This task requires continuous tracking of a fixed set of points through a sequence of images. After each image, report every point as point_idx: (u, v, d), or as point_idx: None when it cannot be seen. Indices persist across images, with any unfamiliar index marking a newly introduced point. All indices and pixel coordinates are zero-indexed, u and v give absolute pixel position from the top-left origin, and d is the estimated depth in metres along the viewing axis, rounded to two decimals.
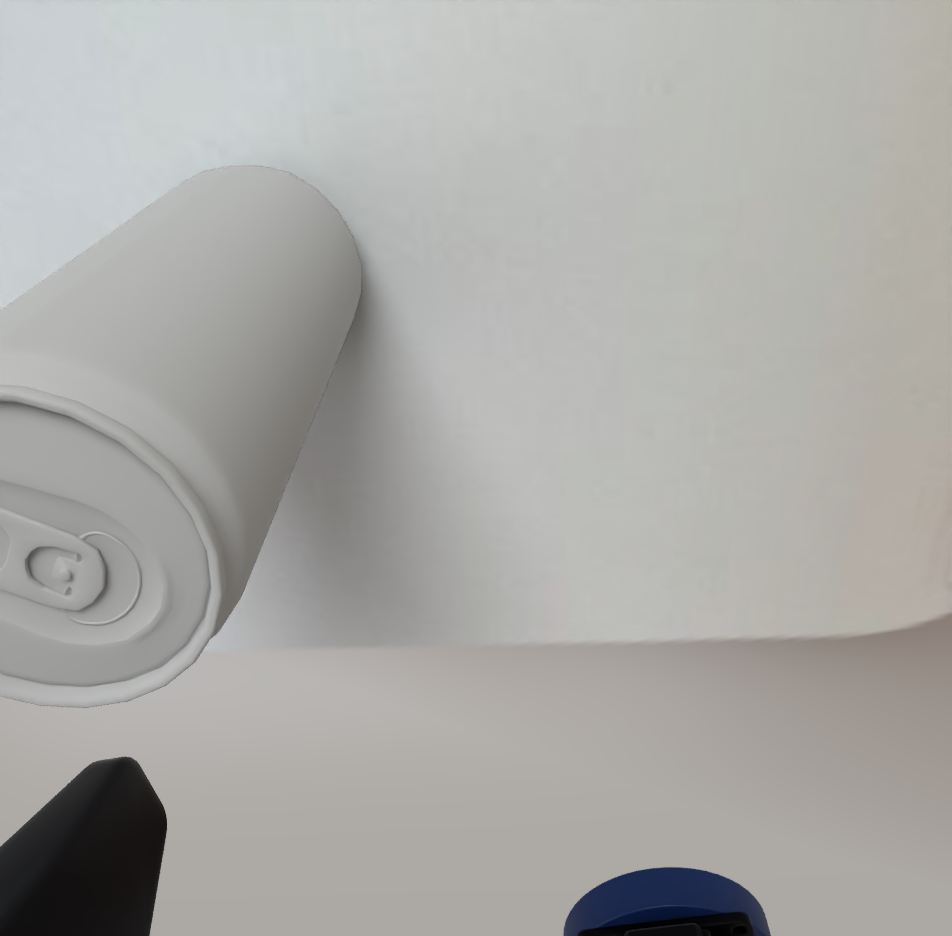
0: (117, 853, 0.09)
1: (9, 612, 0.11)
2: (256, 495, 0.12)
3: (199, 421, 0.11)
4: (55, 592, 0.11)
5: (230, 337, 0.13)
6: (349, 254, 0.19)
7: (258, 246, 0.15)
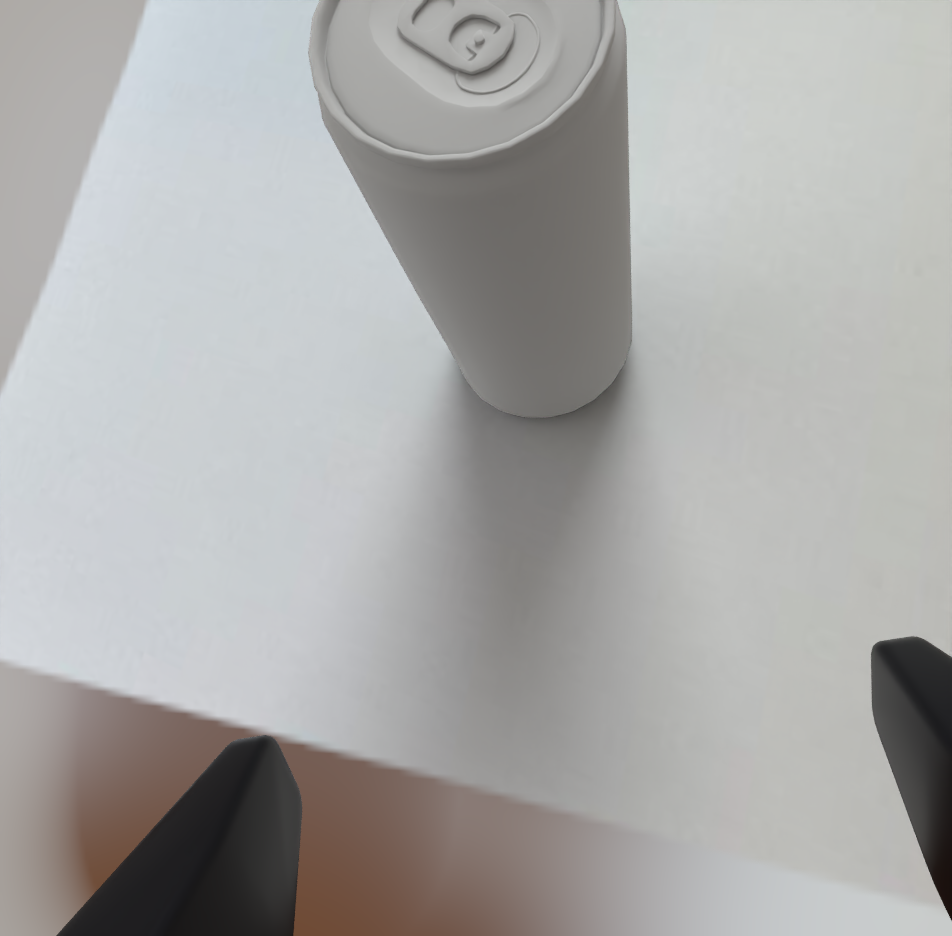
0: (266, 832, 0.08)
1: (412, 71, 0.13)
2: (625, 93, 0.14)
3: None
4: (461, 55, 0.13)
5: None
6: (631, 311, 0.23)
7: None
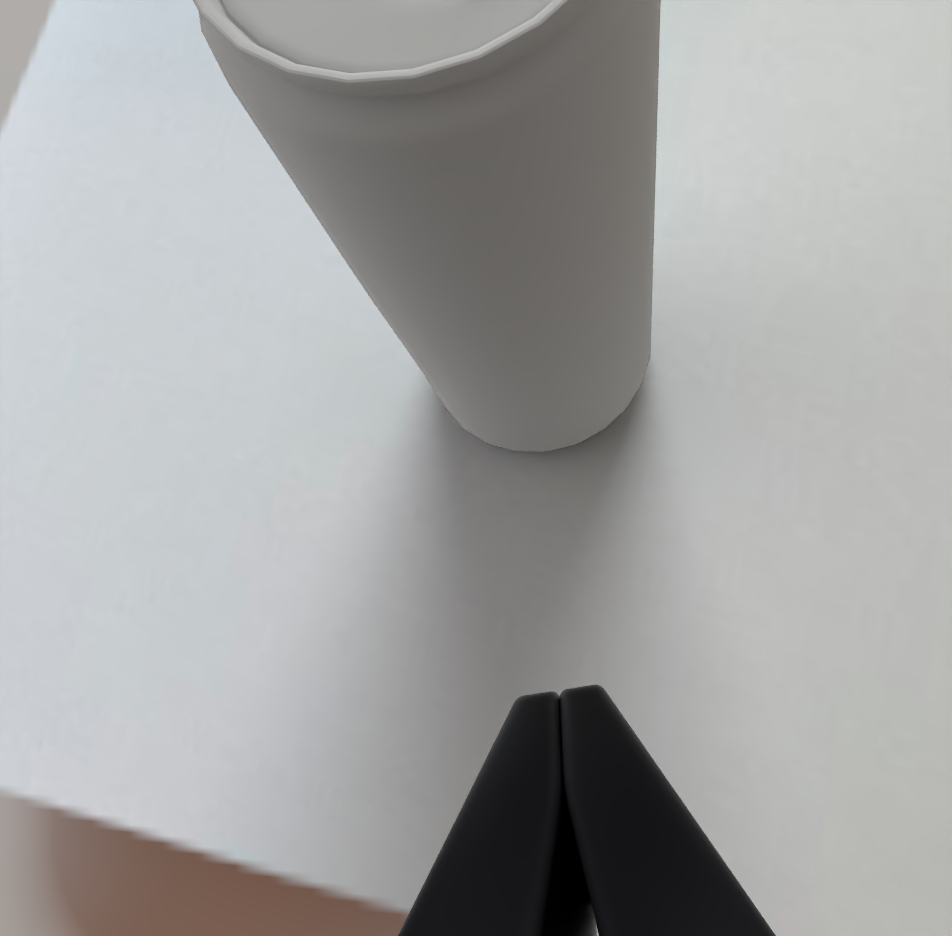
0: None
1: None
2: None
3: None
4: None
5: None
6: None
7: None
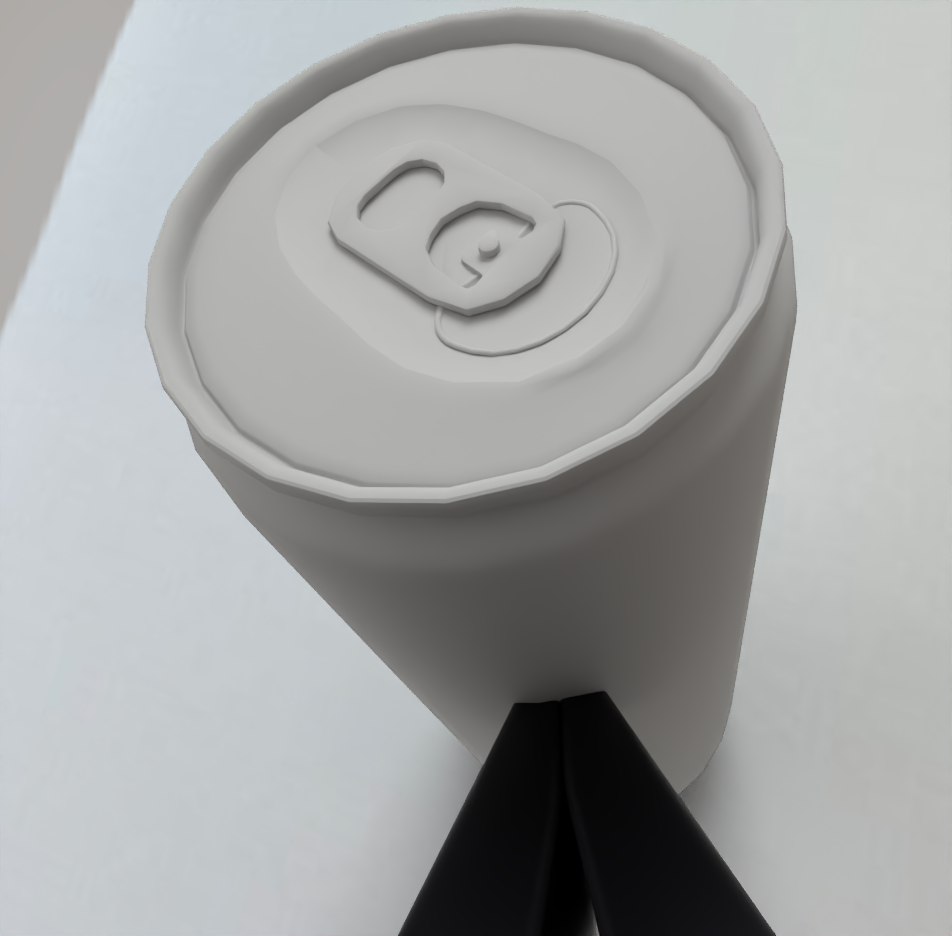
0: None
1: (347, 305, 0.06)
2: (788, 360, 0.07)
3: None
4: (448, 278, 0.06)
5: None
6: None
7: None
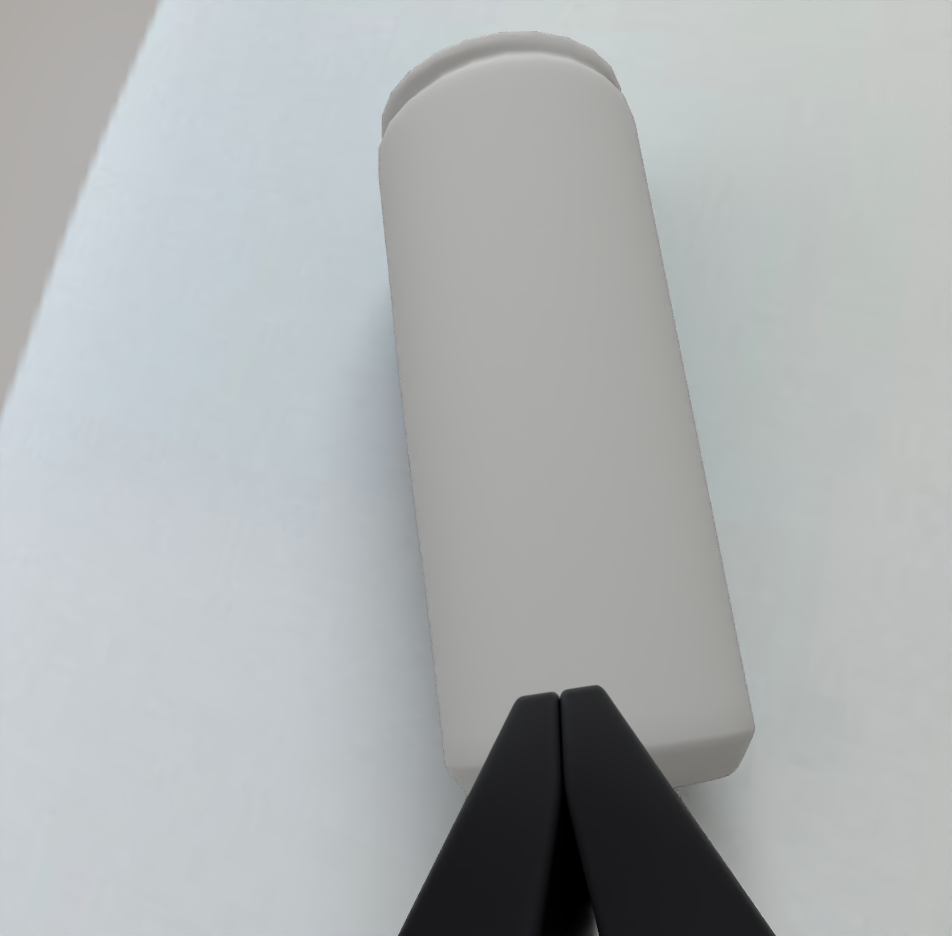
0: None
1: None
2: (629, 125, 0.16)
3: None
4: None
5: None
6: (741, 668, 0.13)
7: None
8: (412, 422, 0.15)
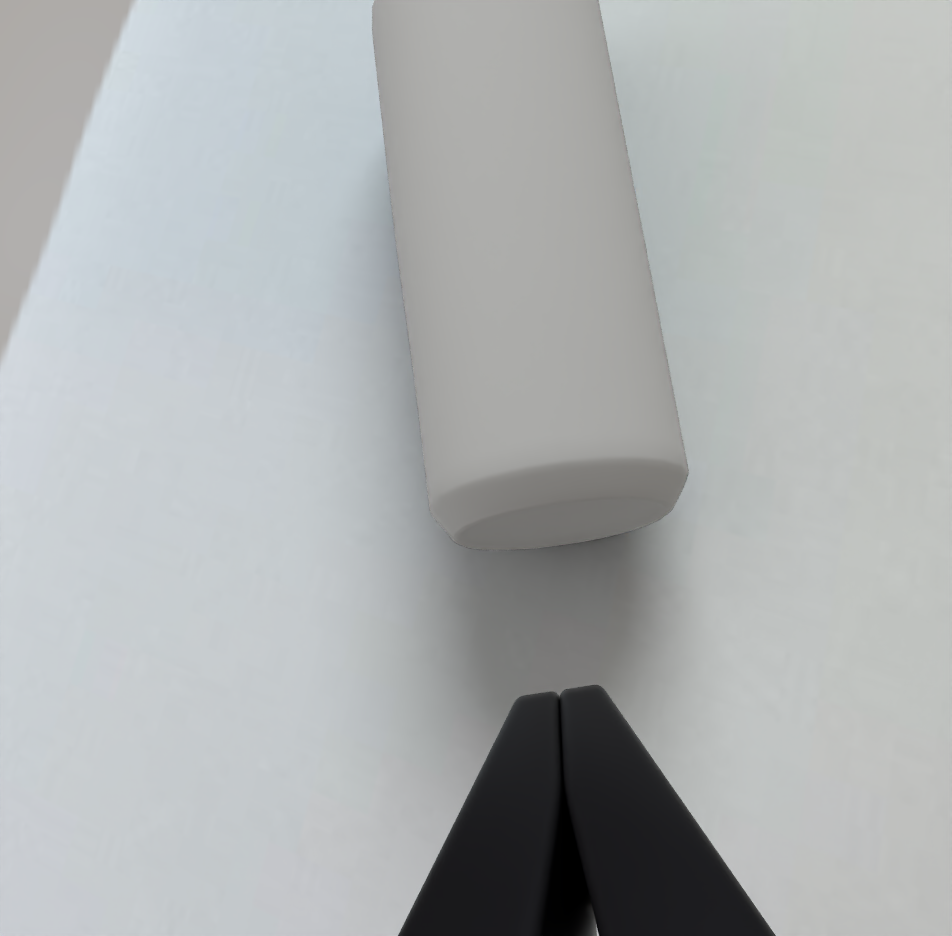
0: None
1: None
2: None
3: None
4: None
5: None
6: (677, 422, 0.16)
7: None
8: (401, 228, 0.17)
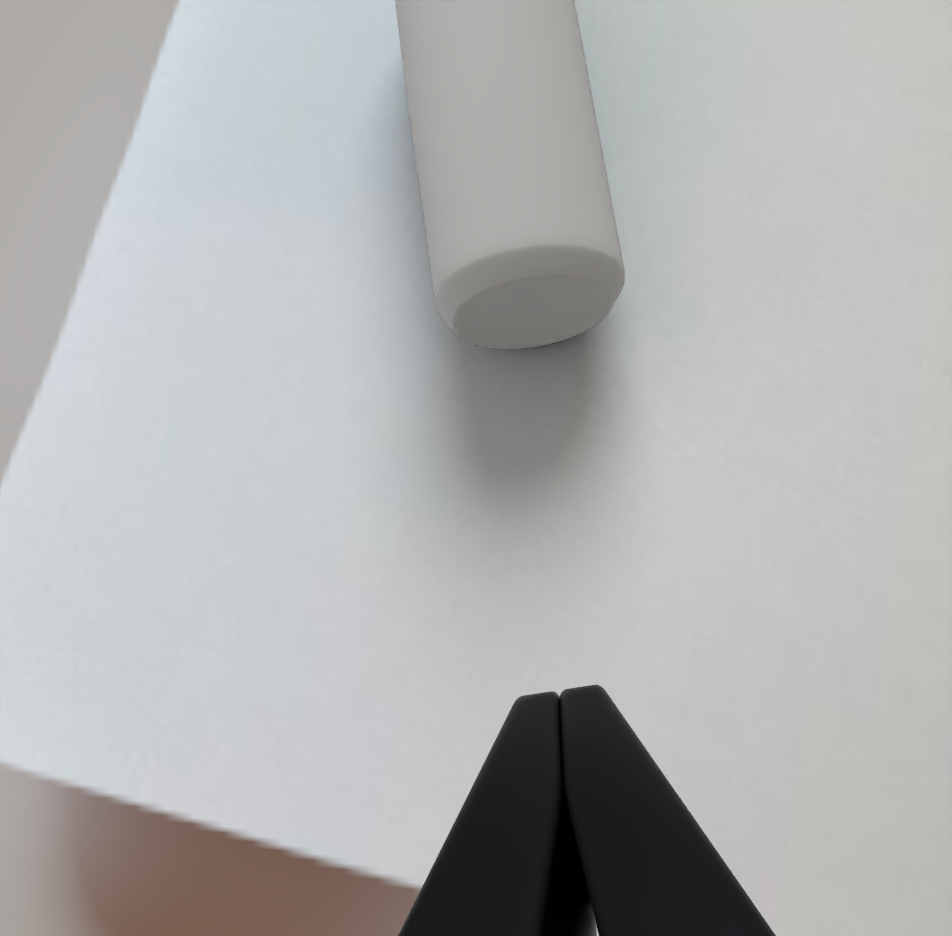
0: None
1: None
2: None
3: None
4: None
5: None
6: (616, 236, 0.22)
7: None
8: (414, 101, 0.23)
